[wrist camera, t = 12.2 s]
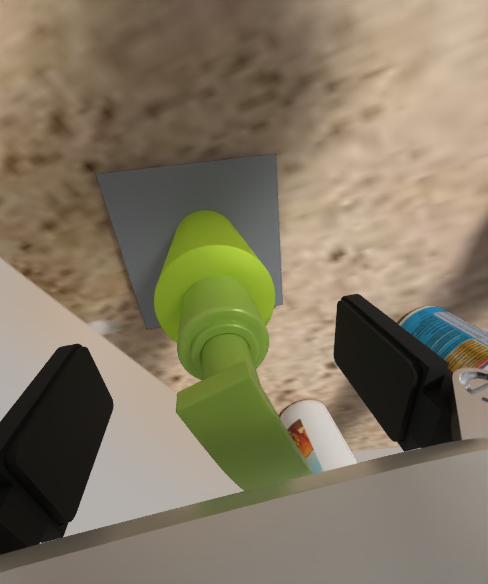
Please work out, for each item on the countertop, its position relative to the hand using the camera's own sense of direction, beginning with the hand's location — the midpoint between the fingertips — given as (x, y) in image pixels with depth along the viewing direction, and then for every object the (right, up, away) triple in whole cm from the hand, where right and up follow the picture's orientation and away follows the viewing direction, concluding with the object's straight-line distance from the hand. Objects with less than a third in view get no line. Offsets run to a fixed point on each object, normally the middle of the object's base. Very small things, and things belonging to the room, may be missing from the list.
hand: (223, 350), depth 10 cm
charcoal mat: (-3, +7, +16) cm, 17 cm away
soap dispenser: (-3, +7, +15) cm, 16 cm away
